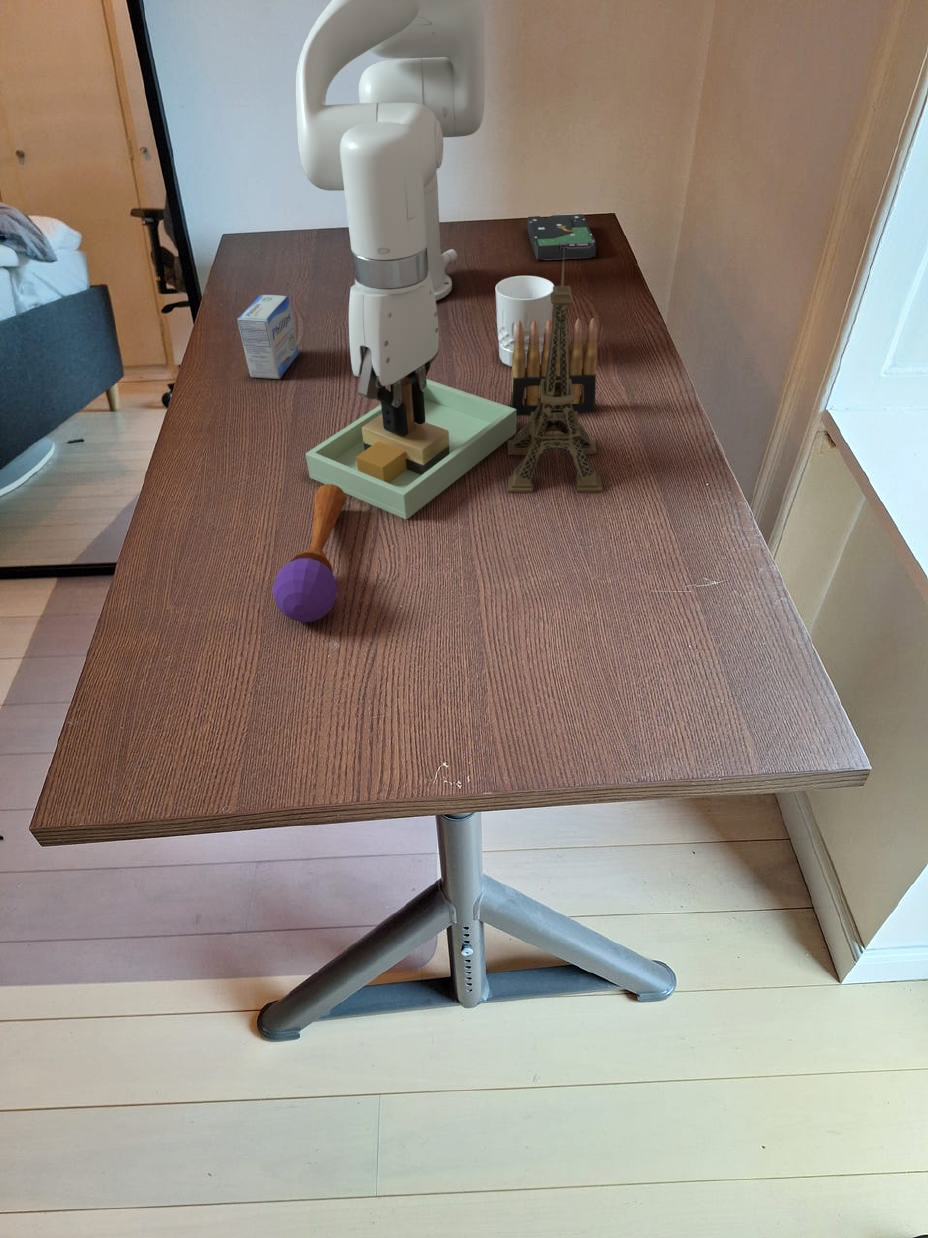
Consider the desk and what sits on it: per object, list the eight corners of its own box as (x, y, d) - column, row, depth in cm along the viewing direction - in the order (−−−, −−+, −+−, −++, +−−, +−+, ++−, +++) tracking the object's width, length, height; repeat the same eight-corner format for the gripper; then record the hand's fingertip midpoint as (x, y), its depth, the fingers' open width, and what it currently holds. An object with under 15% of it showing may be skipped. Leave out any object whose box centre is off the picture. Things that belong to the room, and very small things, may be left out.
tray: (423, 400, 112) (422, 377, 109) (516, 432, 105) (516, 408, 103) (309, 477, 99) (305, 453, 97) (406, 519, 93) (404, 494, 91)
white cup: (559, 350, 121) (563, 280, 114) (539, 375, 116) (542, 303, 109) (508, 341, 123) (509, 271, 117) (486, 364, 118) (485, 293, 111)
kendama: (360, 477, 92) (334, 588, 76) (355, 523, 96) (330, 638, 80) (304, 469, 91) (268, 579, 76) (302, 515, 95) (266, 630, 79)
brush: (391, 434, 104) (383, 362, 98) (450, 456, 100) (446, 382, 94) (364, 453, 101) (355, 379, 95) (424, 476, 97) (418, 401, 91)
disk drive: (525, 232, 156) (536, 261, 145) (526, 216, 154) (537, 244, 143) (581, 229, 156) (596, 258, 145) (582, 212, 154) (598, 241, 143)
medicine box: (279, 380, 117) (267, 319, 111) (249, 378, 118) (236, 317, 112) (299, 354, 122) (289, 294, 116) (270, 352, 123) (259, 293, 117)
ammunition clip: (592, 404, 110) (600, 313, 101) (594, 411, 108) (602, 320, 100) (509, 407, 110) (510, 317, 101) (511, 415, 108) (512, 324, 100)
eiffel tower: (507, 442, 104) (509, 228, 86) (594, 441, 103) (613, 226, 86) (508, 492, 96) (510, 269, 79) (602, 492, 95) (624, 267, 78)
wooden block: (380, 459, 100) (378, 440, 99) (406, 469, 98) (405, 451, 97) (358, 475, 98) (355, 456, 96) (384, 486, 96) (382, 467, 94)
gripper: (411, 233, 92) (422, 388, 104) (308, 284, 82) (333, 448, 95) (467, 247, 88) (471, 405, 101) (366, 301, 79) (384, 469, 92)
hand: (404, 425), depth 98 cm, fingers closed on brush, 2 cm apart
